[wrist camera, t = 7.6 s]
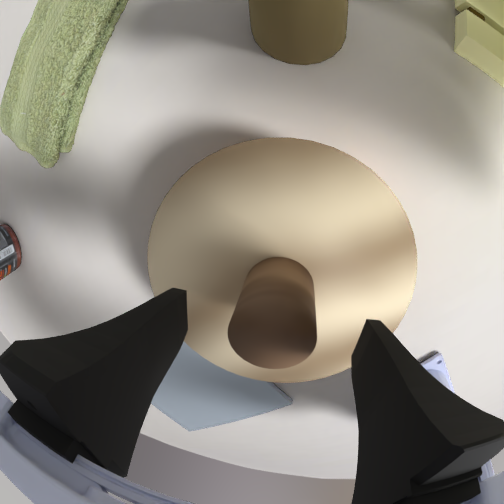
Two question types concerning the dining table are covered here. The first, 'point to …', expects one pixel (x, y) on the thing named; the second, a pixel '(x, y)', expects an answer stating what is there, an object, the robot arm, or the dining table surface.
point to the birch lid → (283, 257)
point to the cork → (299, 28)
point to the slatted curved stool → (481, 35)
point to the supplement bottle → (8, 251)
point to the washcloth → (55, 74)
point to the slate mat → (212, 393)
